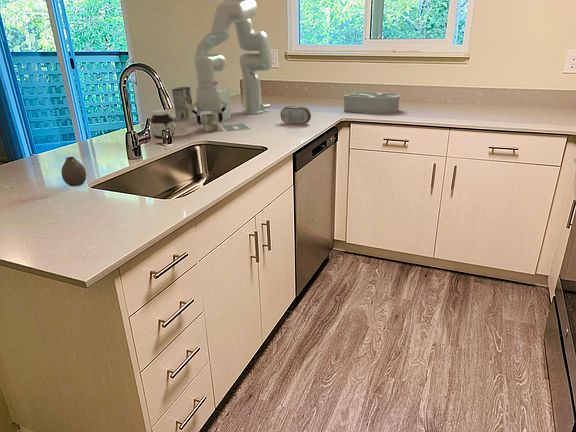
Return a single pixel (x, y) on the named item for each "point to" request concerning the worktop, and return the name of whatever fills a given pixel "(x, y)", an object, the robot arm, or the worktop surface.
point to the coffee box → (182, 103)
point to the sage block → (210, 122)
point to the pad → (210, 131)
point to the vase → (73, 172)
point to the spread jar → (161, 123)
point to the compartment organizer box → (371, 102)
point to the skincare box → (223, 97)
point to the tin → (295, 115)
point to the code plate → (235, 127)
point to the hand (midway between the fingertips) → (210, 123)
